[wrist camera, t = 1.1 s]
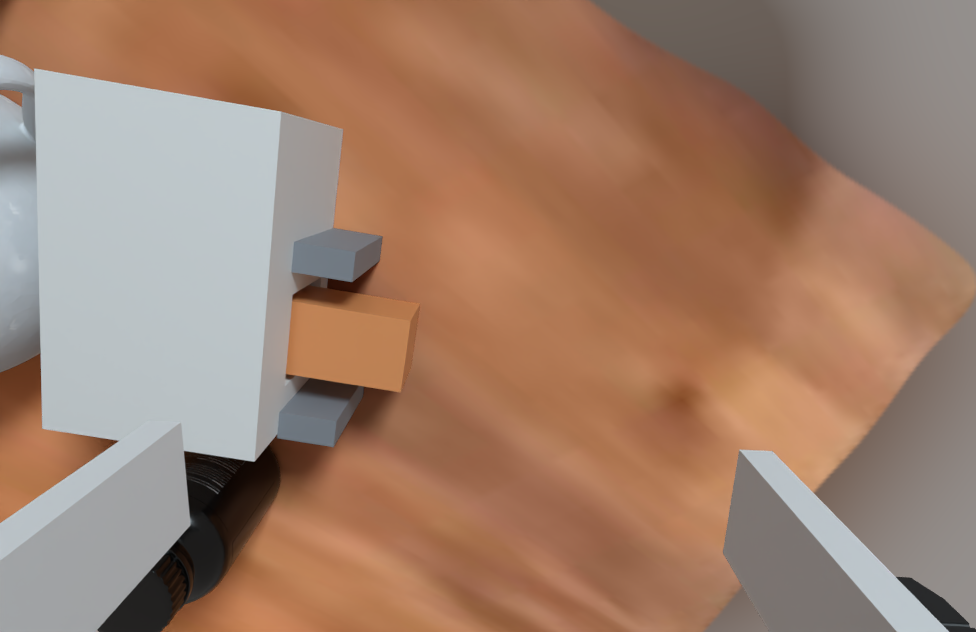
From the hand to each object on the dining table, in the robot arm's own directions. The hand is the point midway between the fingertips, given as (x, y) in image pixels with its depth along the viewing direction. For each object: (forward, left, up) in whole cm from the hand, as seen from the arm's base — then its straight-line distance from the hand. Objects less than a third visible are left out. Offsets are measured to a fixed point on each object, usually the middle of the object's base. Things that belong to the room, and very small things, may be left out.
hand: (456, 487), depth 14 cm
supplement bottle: (-14, -15, -23) cm, 31 cm away
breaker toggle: (-7, -3, -21) cm, 22 cm away
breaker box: (-13, 0, -23) cm, 26 cm away
